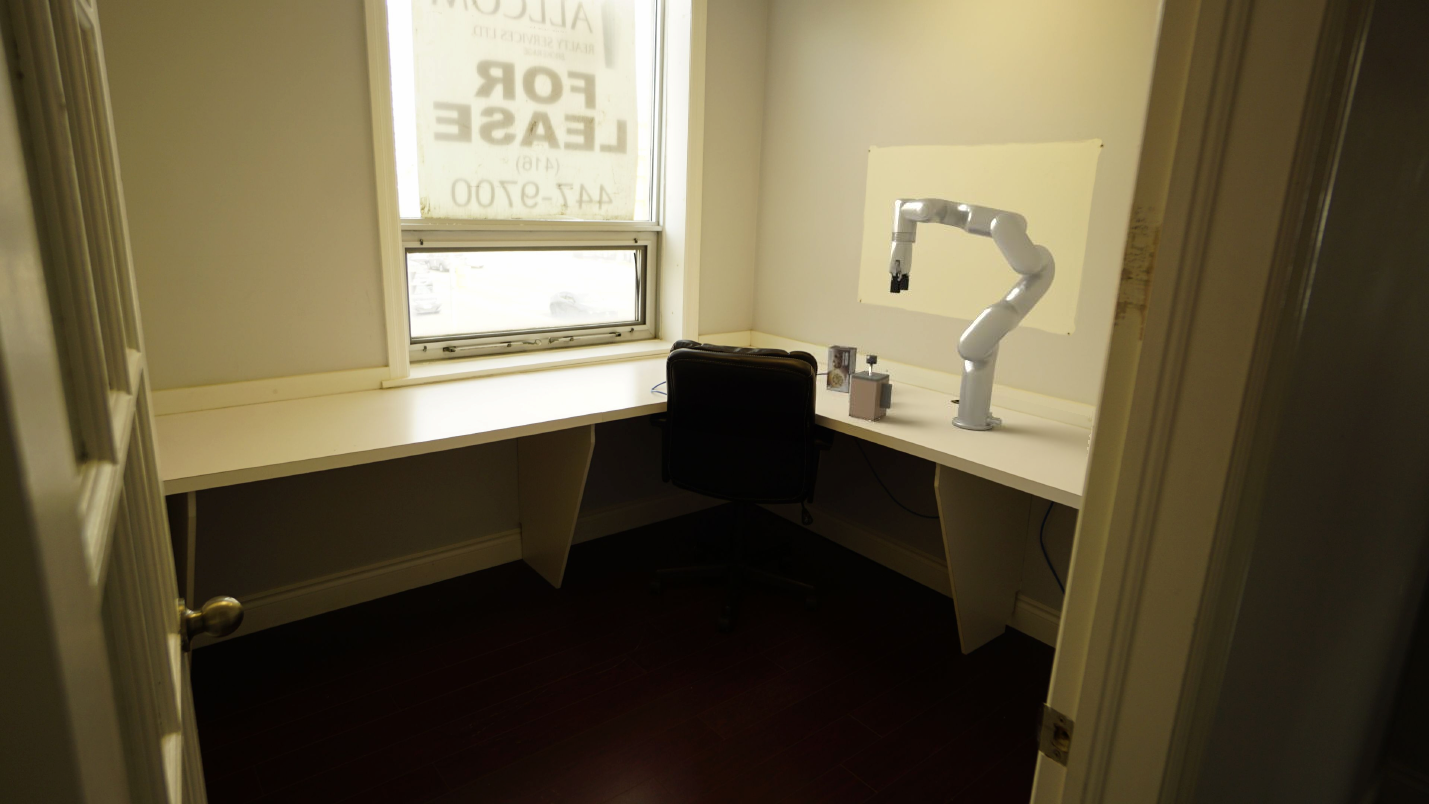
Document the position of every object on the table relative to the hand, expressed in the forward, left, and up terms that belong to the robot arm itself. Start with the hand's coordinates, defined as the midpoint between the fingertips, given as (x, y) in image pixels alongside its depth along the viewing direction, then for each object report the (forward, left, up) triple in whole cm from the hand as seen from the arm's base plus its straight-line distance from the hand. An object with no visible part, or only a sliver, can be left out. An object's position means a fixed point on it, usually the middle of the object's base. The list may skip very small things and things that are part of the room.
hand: (899, 291), depth 252 cm
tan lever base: (0, +12, -40) cm, 42 cm away
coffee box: (+27, -14, -40) cm, 51 cm away
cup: (+12, -2, -40) cm, 42 cm away
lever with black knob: (+2, +12, -37) cm, 39 cm away
